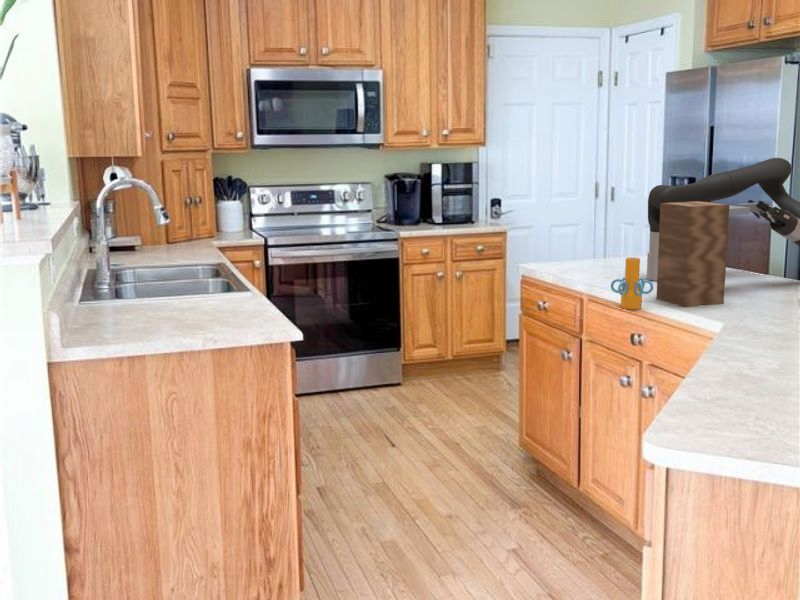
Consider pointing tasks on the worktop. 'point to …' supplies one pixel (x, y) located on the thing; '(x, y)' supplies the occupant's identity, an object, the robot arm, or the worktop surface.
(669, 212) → the post
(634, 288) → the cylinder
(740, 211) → the lid
